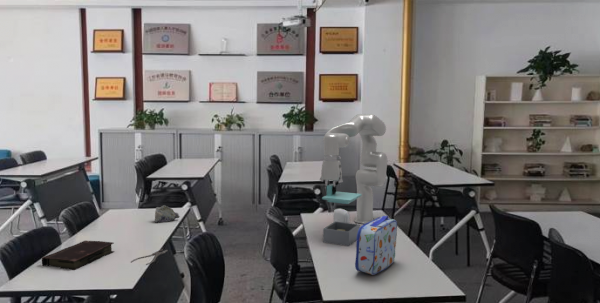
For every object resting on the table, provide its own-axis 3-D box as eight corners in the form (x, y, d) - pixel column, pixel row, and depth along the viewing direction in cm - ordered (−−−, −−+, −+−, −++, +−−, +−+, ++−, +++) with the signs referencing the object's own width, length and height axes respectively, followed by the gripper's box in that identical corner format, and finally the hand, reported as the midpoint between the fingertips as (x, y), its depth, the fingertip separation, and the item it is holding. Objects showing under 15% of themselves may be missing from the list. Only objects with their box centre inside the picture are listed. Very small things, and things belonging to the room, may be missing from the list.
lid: (335, 195, 244) (335, 182, 244) (361, 198, 238) (361, 184, 237) (322, 202, 229) (322, 187, 228) (350, 205, 223) (350, 190, 222)
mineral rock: (180, 220, 274) (180, 203, 273) (171, 224, 264) (171, 207, 262) (161, 218, 277) (160, 202, 276) (151, 223, 266) (151, 206, 265)
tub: (334, 233, 246) (335, 221, 245) (359, 237, 240) (359, 224, 239) (323, 242, 232) (323, 228, 231) (348, 246, 226) (349, 232, 225)
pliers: (128, 262, 200) (149, 248, 220) (128, 264, 200) (149, 249, 220) (149, 264, 199) (168, 249, 219) (149, 266, 199) (168, 250, 219)
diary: (41, 267, 198) (40, 256, 197) (84, 249, 221) (83, 239, 221) (76, 271, 192) (75, 260, 192) (116, 252, 216) (115, 242, 215)
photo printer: (332, 229, 254) (332, 208, 253) (337, 228, 257) (338, 206, 256) (345, 233, 247) (345, 211, 245) (350, 232, 249) (351, 210, 248)
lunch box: (377, 256, 211) (378, 210, 209) (399, 260, 206) (400, 213, 203) (352, 275, 188) (352, 223, 185) (375, 280, 182) (376, 227, 180)
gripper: (348, 158, 234) (348, 193, 236) (320, 156, 241) (319, 190, 243) (343, 160, 227) (342, 196, 229) (314, 158, 234) (314, 193, 236)
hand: (331, 193), depth 236 cm, fingers closed on lid, 2 cm apart
